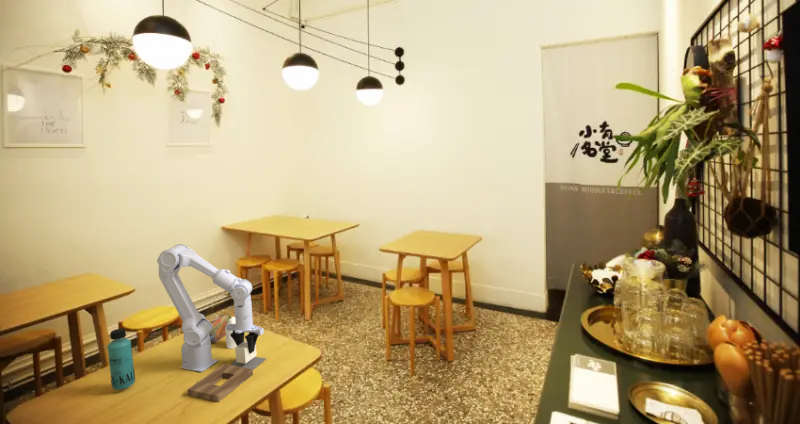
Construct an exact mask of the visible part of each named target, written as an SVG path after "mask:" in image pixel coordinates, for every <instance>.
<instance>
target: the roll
mask: <svg viewBox="0 0 800 424" xmlns="http://www.w3.org/2000/svg"><path fill="white" fill-rule="evenodd" d="M230 323H231V324H236V322H235V316H231V318H230V319H229V322H228V324H230ZM228 324H227V325H228ZM225 333H226V335H225V342H226V348H227V349H229V350H232V349H235V347H236V346H237V345H236V343H235V341H234V340H233V338H232V337H231V335H230V334H231V333H233V330H229V331H227V330H226V327H225Z"/></svg>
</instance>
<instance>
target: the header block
mask: <svg viewBox="0 0 800 424" xmlns="http://www.w3.org/2000/svg"><path fill="white" fill-rule="evenodd" d="M253 371H254V369H249V368H243V367H238V366H232V365H230V364H226V363H223V364H221V366H219V367H217V368H216V369H214V370H213V371H212V372H210V373H209V374H207V375H206V376H205V377H203V378H202V379H200V380H198V381H197V382H196V383H194V384H193V385H191V386H190V387H189V388H188V389H186V390H187V396H189V397H194V398H198V399H204V400H208V401H214V402H217V403H219V402H221V401H222V400H223V399H225V398H226V397H227V396H228V395H230V393H232V392H233V391H235V390H236V389H237V388H238V387H239V386H241V385H242V384H243V383H245V382H246V381H247V380H248V379H249V378H251V377H252V376H253V375H254V372H253ZM223 379H227V380H225V382H223V383H222V384H220V385H217V383H218V382H219V381H221V380H223Z"/></svg>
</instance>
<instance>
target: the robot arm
mask: <svg viewBox="0 0 800 424" xmlns="http://www.w3.org/2000/svg"><path fill="white" fill-rule="evenodd" d="M156 262H157V264H158V277H159V280H160V282H161V284H162V285H163V287H164V289H165V291H166V293H167V295H168V297H169V298H170V300H171V302H172V304H173V306H174V308H175V309H176V311H177V313H178V315H179V317H180V319H181V321H182V325H181V332H182V333H183V341H184V343H183V344H182V347H181V349H180V350H181V352H180V353H181V360H182V365H181V366H180V368H181V369H182V370H183V369H185V370H189V371H195V372H200V373H203V372H204V371H206V370H207V369H209V368H210V367H211V366H213V365H215V364H216V363H217V362H218V361H219V359H217V358H216V359H215V358H213V353H212V342H211V341H210V336H209V333H210V332H211V330H212V324H211V321H210V320H208V319H207V318H206V317H205V315H204V314H203V313H200V312H198V309H197V308H196V306H195V304H194V301H193V300H192V298H191V297H190V296H191V295H190V294H189V292H188V291H187V288H186V287H185V285H184V282H183V281H182V279H181V277H180V276H179V272H180V270H181V268H185V267H186V268H187V267H192V268H193V269H195V270H197V271H199V272H200V273H202V274H203V275H204V274H205V275H206V276H207V277H210V278H211V279H212V284H214V285H216V286H218V287H220V288H221V289H222V290H224V291H226V292H228V294H229V293H230V297H231V299H232V300H233V309H234V317H235V322H236V324H231V323H230V324H228V325H226V330H227V331H229V330H233V333H231V334H230V335H231V337H232V338H233V340H234V341H235V343H236V345H237V346H238V345H239V344H241V343H242V342H244V341H247V344H248V350H249V353H252V352H253V351H254V349H255V344H256V345H257V340H258V338H259V336H262V335H263V334H264V333H265V330H264V328H263V327H260V326H258V325H255V324H254V320H253V305H252V304H253V303H252V297H251V296H252V295H251V293H252V291H253V284H252V283H251V282H250V281H249V280H248V279H242V278H241V277H238V276H236V275H234V274H233V273H232V272H231V270H229V269H225V268H221V269H218V268H217V267H215V266H214V265H213V264H211V263H210V262H209V261H207V260H206V259H205V258H203V257H201V256H200V255H199V254H197V253H196V252H195V251H194V249H192V248H190V247H188V245H186V244H183V243H178V244H175V245H173V246H172V247H169V248H168V249H164V250H162V251H161V252H160V254H159V256H158V258H157V260H156ZM245 333H248V334H245Z"/></svg>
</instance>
